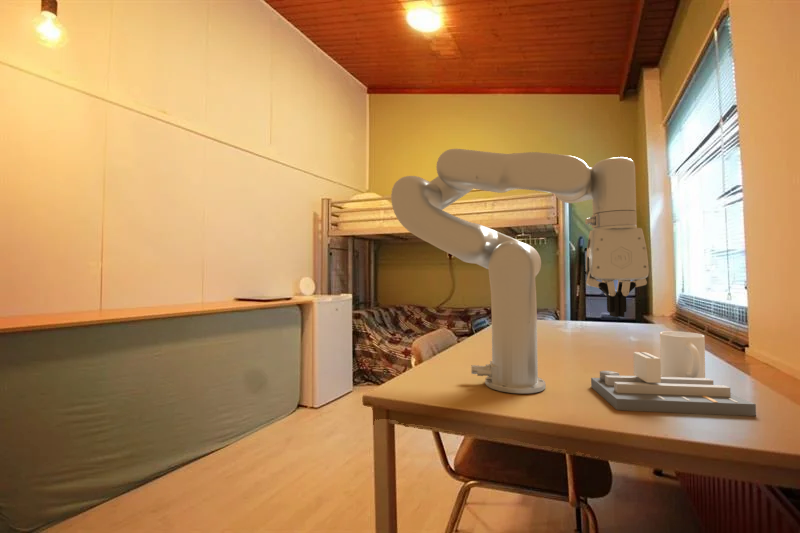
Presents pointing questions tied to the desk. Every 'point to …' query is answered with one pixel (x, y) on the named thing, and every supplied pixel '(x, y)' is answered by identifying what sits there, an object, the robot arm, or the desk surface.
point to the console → (670, 395)
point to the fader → (647, 368)
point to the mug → (682, 354)
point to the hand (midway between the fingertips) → (616, 315)
